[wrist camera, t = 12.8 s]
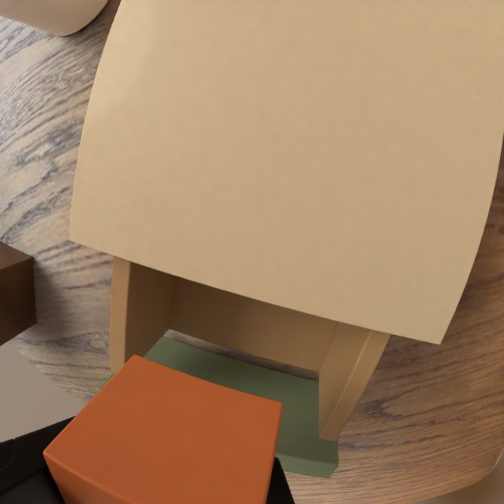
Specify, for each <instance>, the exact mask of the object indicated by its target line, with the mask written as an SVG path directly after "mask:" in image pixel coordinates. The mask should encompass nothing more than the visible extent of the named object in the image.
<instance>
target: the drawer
mask: <svg viewBox="0 0 504 504" xmlns="http://www.w3.org/2000/svg"><path fill="white" fill-rule="evenodd" d="M168 329H172V330H175V331H178V332H181V333H184V334H187V335H190V336H193V337H196V338H199V339H202V340H205V341H208V342H211V343H214V344H217V345H220V346H224V347H227V348H230V349H234V350H237V351H240V352H244V353H247V354H251V355H254V356H258V357H261V358H265V359H269V360H272V361H276V362H280V363H284V364H287V365H291V366H295V367H299V368H303V369H308V370H312V371H316V372H319V382H318V381H314V380H309V379H305V378H301V377H297V376H293V375H289V374H285V373H281V372H277V371H273V370H270V369H266V368H262V367H259V366H255V365H251V364H248V363H245V362H241V361H238V360H234V359H231V358H228V357H225V356H221V355H218V354H215V353H212V352H209V351H206V350H202V349H199V348H196V347H193V346H190V345H188V344H185V343H182V342H179V341H176V340H173V339H170V338H168V337H165V336H163V335H164V334H165V333H166V331H167V330H168ZM391 335H392V334H388V333H384V332H380V331H375V330H371V329H367V328H363V327H359V326H355V325H351V324H347V323H343V322H339V321H335V320H331V319H327V318H323V317H319V316H315V315H311V314H307V313H304V312H300V311H296V310H292V309H289V308H285V307H281V306H278V305H274V304H270V303H267V302H263V301H260V300H256V299H252V298H249V297H245V296H242V295H238V294H235V293H231V292H228V291H225V290H221V289H218V288H214V287H211V286H208V285H204V284H201V283H198V282H194V281H191V280H188V279H185V278H181V277H178V276H175V275H172V274H168V273H165V272H162V271H159V270H156V269H153V268H150V267H146V266H143V265H140V264H137V263H134V262H131V261H128V260H125V259H122V258H119V257H116V256H114V258H113V271H112V285H111V306H110V371H111V372H112V374H111V375H110V376H109V377H108V378H107V379H106V380H105V381H104V382H103V383H102V384H101V385H100V386H99V387H98V388H97V393H98V392H99V391H100V390H101V389H102V388H103V387H104V386H105V385H106V384H107V383H108V381H109V380H110V379H111V378H112V377H113V376H114V375H115V374H116V373H117V372H118V371H119V370H120V369H121V368H122V367H123V366H124V365H125V364H126V363H127V362H128V360H129V359H130V358H131V357H132V356H133V355H138V356H141V357H143V358H146V359H148V360H151V361H153V362H156V363H159V364H161V365H164V366H166V367H169V368H172V369H175V370H177V371H180V372H183V373H186V374H189V375H191V376H194V377H197V378H200V379H203V380H206V381H209V382H212V383H216V384H219V385H222V386H225V387H228V388H232V389H235V390H239V391H242V392H245V393H249V394H253V395H256V396H260V397H264V398H267V399H271V400H275V401H279V402H282V403H283V410H282V416H281V422H280V428H279V434H278V440H277V446H276V452H275V457H278V458H279V460H280V463H281V466H282V469H283V471H288V472H293V473H298V474H304V475H309V476H316V477H322V478H329V477H330V476H331V475H332V473H333V472H334V471H335V469H336V468H337V467H338V437H339V435H340V433H341V432H342V430H343V428H344V427H345V425H346V423H347V421H348V420H349V418H350V416H351V414H352V413H353V411H354V409H355V407H356V405H357V404H358V402H359V400H360V398H361V396H362V394H363V393H364V391H365V389H366V387H367V385H368V383H369V381H370V379H371V377H372V375H373V373H374V371H375V369H376V367H377V365H378V363H379V361H380V359H381V357H382V354H383V352H384V350H385V348H386V346H387V344H388V341H389V339H390V337H391Z"/></svg>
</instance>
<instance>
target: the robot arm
mask: <svg viewBox="0 0 504 504" xmlns="http://www.w3.org/2000/svg"><path fill="white" fill-rule="evenodd" d="M74 418H75V416H74V417H71V418H69V419H66V420H63V421H61V422H58V423H56V424H53V425H50V426H47V427H45V428H42V429H39V430H37V431H34V432H31V433H28V434H25V435H22V436H19V437H16V438H15V439H10V440H7V441H4V442H1V443H0V504H66V503H65V501H64V499H63V497H62V495H61V493H60V491H59V489H58V487H57V485H56V483H55V481H54V478H53V476H52V474H51V472H50V469H49V467H48V465H47V462H46V460H45V458H44V455H43V452H44V450H45V449H46V448H47V447H48V445H49V444H50V443H51V442H52V441H53V440H54V439H55V438H56V437H57V436H58V435H59V434H60V433H61V431H62V430H63V429H64V428H65V427H66V426H67V425H68V424H69V423H70V422H71V421H72V420H73V419H74ZM266 504H295V503H294V500H293V497H292V494H291V491H290V489H289V486H288V483H287V480H286V477H285V474H284V471H283V469H282V466H281V463H280V460H279V458H278V457H274V463H273V469H272V474H271V479H270V485H269V490H268V495H267V500H266Z"/></svg>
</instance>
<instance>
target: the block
mask: <svg viewBox="0 0 504 504" xmlns="http://www.w3.org/2000/svg"><path fill="white" fill-rule="evenodd" d="M282 410H283V403H282V402H279V401H275V400H271V399H267V398H264V397H260V396H256V395H253V394H249V393H245V392H242V391H239V390H235V389H232V388H228V387H225V386H222V385H219V384H216V383H212V382H209V381H206V380H203V379H200V378H197V377H194V376H191V375H189V374H186V373H183V372H180V371H177V370H175V369H172V368H169V367H166V366H164V365H161V364H159V363H156V362H153V361H151V360H148V359H146V358H143V357H141V356H138V355H133V356H132V357H131V358H130V359H129V360H128V362H127V363H126V364H125V365H124V366H123V367H122V368H121V369H120V370H119V371H118V372H117V373H116V374H115V375H114V376H113V377H112V378H111V379H110V380H109V381H108V383H107V384H106V385H105V386H104V387H103V388H102V389H101V390H100V391H99V392H98V393H97V394H96V395H95V396H94V397H93V398H92V399H91V401H90V402H89V403H88V404H87V405H86V406H85V407H84V408H83V409H82V410H81V411H80V412H79V413H78V414H77V415H76V416H75V418H74V419H73V420H72V421H71V422H70V423H69V424H68V425H67V426H66V427H65V428H64V429H63V430H62V431H61V433H60V434H59V435H58V436H57V437H56V438H55V439H54V440H53V441H52V442H51V443H50V444H49V445H48V447H47V448H46V449H45V450H44V452H43V455H44V458H45V460H46V462H47V465H48V467H49V469H50V472H51V474H52V476H53V478H54V481H55V483H56V485H57V487H58V489H59V491H60V493H61V495H62V497H63V499H64V501H65V503H66V504H266V500H267V495H268V490H269V485H270V479H271V474H272V469H273V463H274V457H275V452H276V446H277V440H278V434H279V428H280V422H281V416H282Z"/></svg>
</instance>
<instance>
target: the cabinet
mask: <svg viewBox="0 0 504 504" xmlns="http://www.w3.org/2000/svg"><path fill="white" fill-rule="evenodd" d="M503 136H504V0H122V1H121V3H120V5H119V8H118V11H117V13H116V16H115V18H114V21H113V24H112V26H111V29H110V32H109V35H108V38H107V41H106V44H105V47H104V50H103V53H102V56H101V59H100V63H99V66H98V69H97V73H96V76H95V80H94V84H93V88H92V91H91V95H90V100H89V104H88V108H87V112H86V117H85V122H84V126H83V131H82V137H81V142H80V147H79V153H78V159H77V166H76V173H75V180H74V188H73V197H72V206H71V217H70V231H69V240H70V241H72V242H75V243H78V244H81V245H84V246H87V247H89V248H92V249H95V250H98V251H101V252H104V253H107V254H110V255H113V256H116V257H119V258H122V259H125V260H128V261H131V262H134V263H137V264H140V265H143V266H146V267H150V268H153V269H156V270H159V271H162V272H165V273H168V274H172V275H175V276H178V277H181V278H185V279H188V280H191V281H194V282H198V283H201V284H204V285H208V286H211V287H214V288H218V289H221V290H225V291H228V292H231V293H235V294H238V295H242V296H245V297H249V298H252V299H256V300H260V301H263V302H267V303H270V304H274V305H278V306H281V307H285V308H289V309H292V310H296V311H300V312H304V313H307V314H311V315H315V316H319V317H323V318H327V319H331V320H335V321H339V322H343V323H347V324H351V325H355V326H359V327H363V328H367V329H371V330H375V331H380V332H384V333H388V334H393V335H397V336H401V337H406V338H410V339H415V340H419V341H424V342H429V343H433V344H438V345H440V344H441V341H442V339H443V337H444V335H445V333H446V331H447V329H448V327H449V324H450V322H451V320H452V318H453V315H454V313H455V311H456V308H457V306H458V303H459V301H460V298H461V296H462V293H463V291H464V288H465V286H466V283H467V280H468V278H469V275H470V272H471V269H472V266H473V263H474V261H475V258H476V254H477V251H478V248H479V245H480V242H481V238H482V235H483V232H484V228H485V225H486V221H487V217H488V213H489V209H490V205H491V201H492V197H493V193H494V188H495V183H496V178H497V173H498V168H499V162H500V156H501V150H502V143H503Z"/></svg>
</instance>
